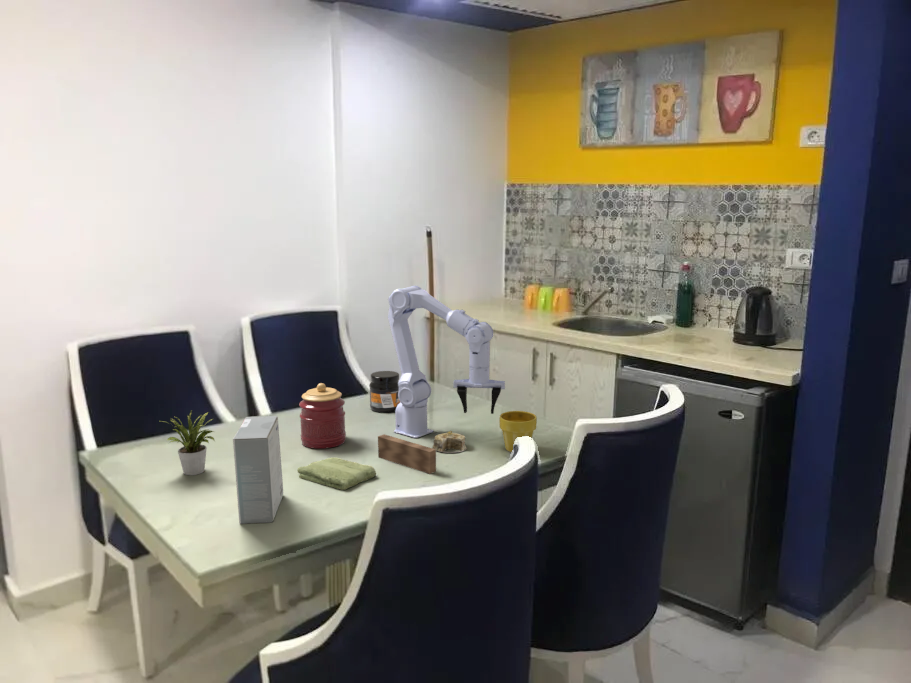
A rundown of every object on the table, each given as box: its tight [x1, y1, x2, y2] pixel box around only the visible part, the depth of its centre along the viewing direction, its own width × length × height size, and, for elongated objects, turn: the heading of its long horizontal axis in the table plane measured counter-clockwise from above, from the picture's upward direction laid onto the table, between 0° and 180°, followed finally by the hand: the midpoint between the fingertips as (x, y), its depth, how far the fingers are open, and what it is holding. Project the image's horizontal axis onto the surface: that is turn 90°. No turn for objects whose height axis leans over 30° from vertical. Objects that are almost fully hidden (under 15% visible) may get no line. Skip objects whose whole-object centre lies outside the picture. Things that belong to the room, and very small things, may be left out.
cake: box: [431, 430, 468, 454], centre depth 208 cm, size 10×10×5 cm
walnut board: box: [377, 433, 437, 475], centre depth 195 cm, size 19×2×6 cm, turn 50°
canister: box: [298, 382, 347, 450], centre depth 212 cm, size 13×13×18 cm
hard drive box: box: [232, 415, 284, 525], centre depth 166 cm, size 16×8×20 cm, turn 5°
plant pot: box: [498, 410, 538, 453], centre depth 206 cm, size 10×10×10 cm
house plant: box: [160, 410, 216, 476], centre depth 188 cm, size 14×14×16 cm
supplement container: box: [368, 370, 400, 413], centre depth 245 cm, size 10×10×12 cm
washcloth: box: [297, 457, 377, 491], centre depth 187 cm, size 13×18×3 cm
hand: (478, 412), depth 209 cm, fingers open, 7 cm apart
